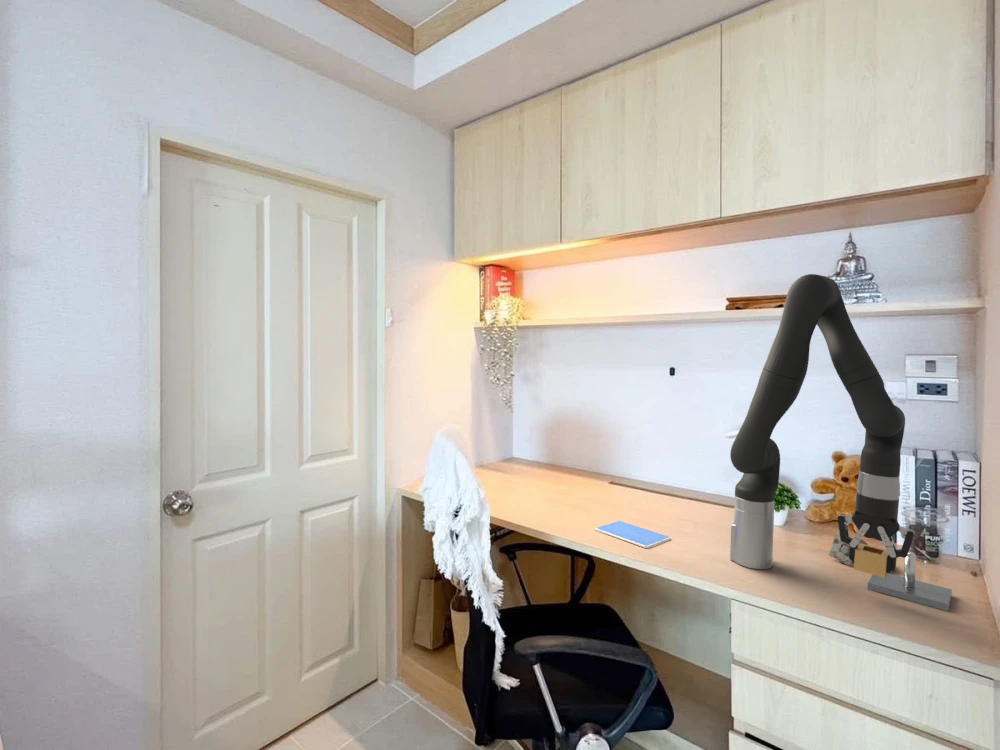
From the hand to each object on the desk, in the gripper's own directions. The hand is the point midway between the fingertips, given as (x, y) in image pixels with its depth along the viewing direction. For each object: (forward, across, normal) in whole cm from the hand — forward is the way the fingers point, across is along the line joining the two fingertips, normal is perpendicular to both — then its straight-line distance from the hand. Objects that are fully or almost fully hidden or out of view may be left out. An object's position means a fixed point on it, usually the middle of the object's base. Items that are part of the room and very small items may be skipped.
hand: (871, 567), depth 111 cm
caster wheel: (+8, -5, +22) cm, 24 cm away
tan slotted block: (+1, 0, 0) cm, 1 cm away
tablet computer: (+10, -58, -3) cm, 59 cm away
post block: (+7, +6, +10) cm, 14 cm away
